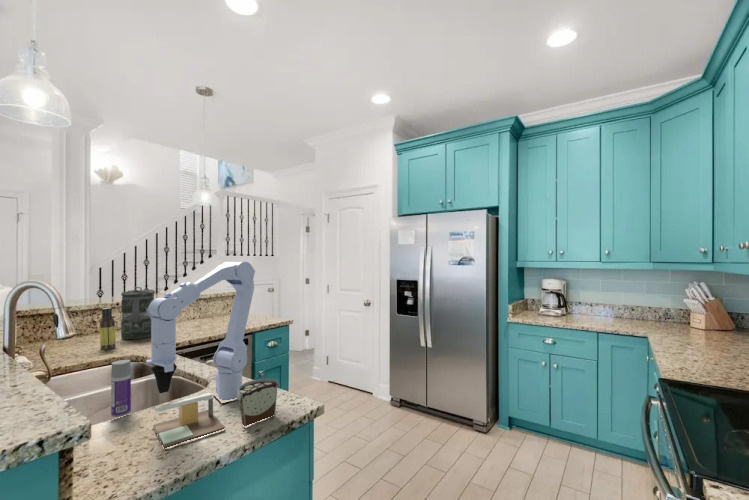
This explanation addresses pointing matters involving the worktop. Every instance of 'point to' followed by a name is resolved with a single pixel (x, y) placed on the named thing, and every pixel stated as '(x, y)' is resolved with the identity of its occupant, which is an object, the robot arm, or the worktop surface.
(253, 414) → the food container
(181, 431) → the sage mat
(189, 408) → the plug block
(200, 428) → the brown tray
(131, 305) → the green backpack
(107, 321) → the sauce bottle
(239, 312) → the robot arm
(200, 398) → the strap
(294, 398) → the worktop surface
